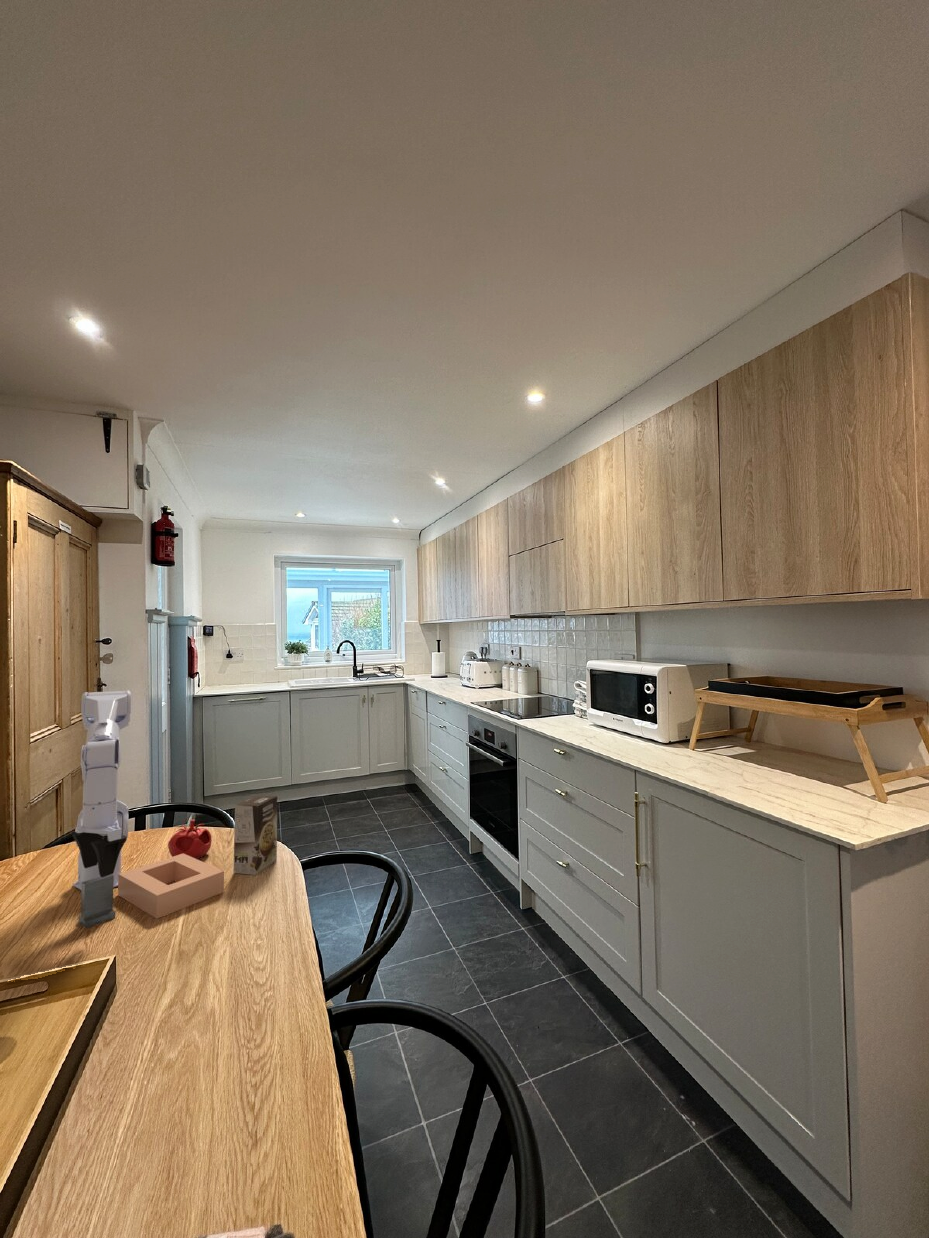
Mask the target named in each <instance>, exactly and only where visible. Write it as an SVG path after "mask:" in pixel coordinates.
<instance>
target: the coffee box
mask: <svg viewBox="0 0 929 1238" xmlns="http://www.w3.org/2000/svg"><path fill="white" fill-rule="evenodd" d="M233 833H234V834H233V835H234V836H233V838H234V839H233V873H234V874H243V875H250V876H251V875H253V876H256V875H258V874H260V873H261V872H262V871H263V870H265V869H266V868H268V867H269V866H271V865H272V864H274V863H275V862H276V861H277V859H278V858H277V857H278V855H277V853H278V795H254V796H252V797H250V798H248V799H245V800H242V801H240V802H238V803H236V804H235V805H234V832H233ZM273 862H274V863H273Z"/></svg>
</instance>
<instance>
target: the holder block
mask: <svg viewBox="0 0 929 1238" xmlns="http://www.w3.org/2000/svg"><path fill="white" fill-rule="evenodd" d="M169 883H171V884H169ZM224 891H225V871H224V870H223V869H220V868H218V867H215V866H213V865H211V864H209V863H206V862H204V861H202V860H199V859H198V858H197V859H195V858H193V857H190V856H188V855H186V854H180V855H177V856H173V857H172V856H170V857H168V858H167V857H166V858H165V859H161V860H158V861H155V862H152V863H149V864H146V865H143V866H139V867H136V868H133V869H129V870H127V871H123V872H121V873H120V874H118V886H117V896H119V897H120V898H122V899H124V900H125V901H127V902H128V903H130V904H131V905H133V906H135V907H137V908H138V909H140V910H142V911H143V912H144V913H146V914H147V915H150V916H151V917H153V918H155V919H159V918H160V919H161V918H162V917H164V916H167V915H170V914H173V913H175V912H177V911H180V910H182V909H185V908H188V907H191V906H193V905H195V904H197V903H200V902H202V901H205V900H207V899H210V898H212V897H215V896H218V895H220V894H222V893H224Z"/></svg>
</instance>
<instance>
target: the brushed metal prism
mask: <svg viewBox="0 0 929 1238" xmlns="http://www.w3.org/2000/svg"><path fill="white" fill-rule="evenodd" d="M113 883H114V875H112V874H111V875H107V876H104V877H98V878H94V879H91V880H88V881H85V882H82V890H80V892H81V893H80V894H81V895H80V896H81V900H80V915H78V917H77V918H78V919H77V922H78V924H80V925H81V926H82V927H84V928H85V930H86V929H89V928H92V927H94V926H98V925H100V924H102V923H104V922H108V921H111V920H113V919H115V918H116V911H115V910H114V887H113Z"/></svg>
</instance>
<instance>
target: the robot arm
mask: <svg viewBox="0 0 929 1238" xmlns="http://www.w3.org/2000/svg"><path fill="white" fill-rule="evenodd" d="M131 703H132V691H130V690H128V689H127V690H117V691H115V690H113V691H95V692H88V691H86V692H84V693H83V694H82V695H81V706H80V707H81V708H80V709H81V711H80V712H81V714H80V715H81V718H82V719H81V720H82V726H83V728H84V730H86V731H87V733H86V739H85V740H86V741H85V745H84V744H83V745H82V746H81V750H80V751H81V752H80V767H81V773H82V774H81V776H82V778H81V780H82V781H83V784H82V785H83V786H82V790H83V791H82V809H81V810H80V811H79V814H77V816H78V817H77V822H76V827H75V828H74V829H75V830H74V833H73V834H72V836H71V837H72V838H73V840H74V842H75V843H76V844H75V845H76V846H77V847H78V849H79V854H78V858H77V861H78V862H77V865H78V866H77V881H75V882H73V883H72V886H74V887H75V888H76V889H79V890H80V891H81V890H82V882H85V881H88V880H91V879H94V878H98V877H104V876H107V875H111V874H112V875H114V883H113V888H115V887H118V874H120V873H122V849H123V846H124V845H125V843H126V842H127V840H128V838H129V807H128V805H127V804H126V803H124V802H122V801H120V800H118V782H119V781H118V776H119V769H118V768H119V767H120V764H121V759H122V758H121V755H122V744H121V743H122V742H121V741H120V732H121V730H123V729H125V728H126V727H128V726H129V724H130V721H131V711H132V710H131V709H132V707H131V706H132V704H131Z"/></svg>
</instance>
